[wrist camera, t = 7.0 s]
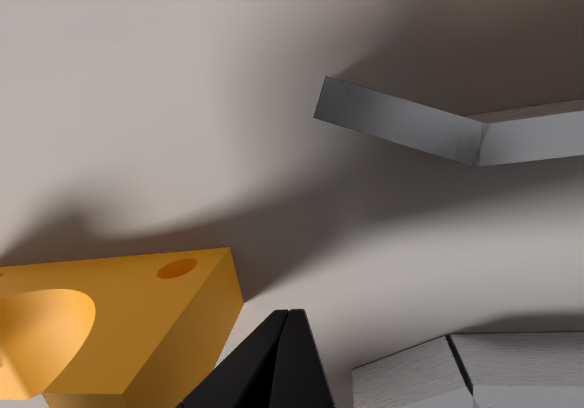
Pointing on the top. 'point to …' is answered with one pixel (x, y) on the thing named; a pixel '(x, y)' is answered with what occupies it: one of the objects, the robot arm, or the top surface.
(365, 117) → the rail
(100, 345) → the pipe clamp
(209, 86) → the top surface
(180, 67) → the top surface
